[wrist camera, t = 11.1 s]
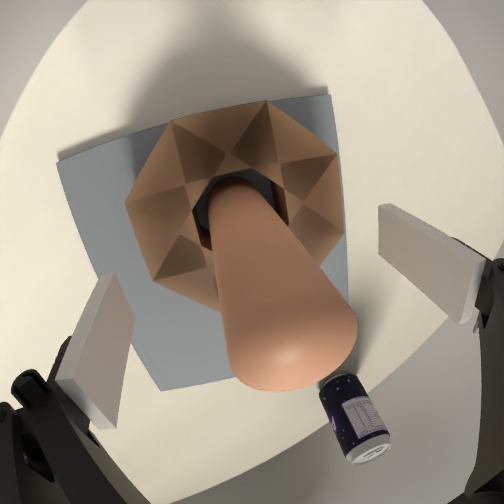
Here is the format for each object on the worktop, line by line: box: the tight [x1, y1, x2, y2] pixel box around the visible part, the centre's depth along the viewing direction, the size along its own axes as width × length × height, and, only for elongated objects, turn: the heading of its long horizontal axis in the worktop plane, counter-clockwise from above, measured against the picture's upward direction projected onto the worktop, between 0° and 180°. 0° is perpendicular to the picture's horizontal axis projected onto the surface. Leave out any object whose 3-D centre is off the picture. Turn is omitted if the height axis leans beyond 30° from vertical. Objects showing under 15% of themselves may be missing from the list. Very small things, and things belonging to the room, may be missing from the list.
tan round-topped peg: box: [207, 176, 358, 392], centre depth 16 cm, size 4×4×16 cm
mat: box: [56, 95, 348, 391], centre depth 25 cm, size 22×26×1 cm
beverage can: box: [319, 373, 391, 466], centre depth 31 cm, size 6×6×12 cm
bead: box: [125, 100, 344, 313], centre depth 21 cm, size 14×14×4 cm
